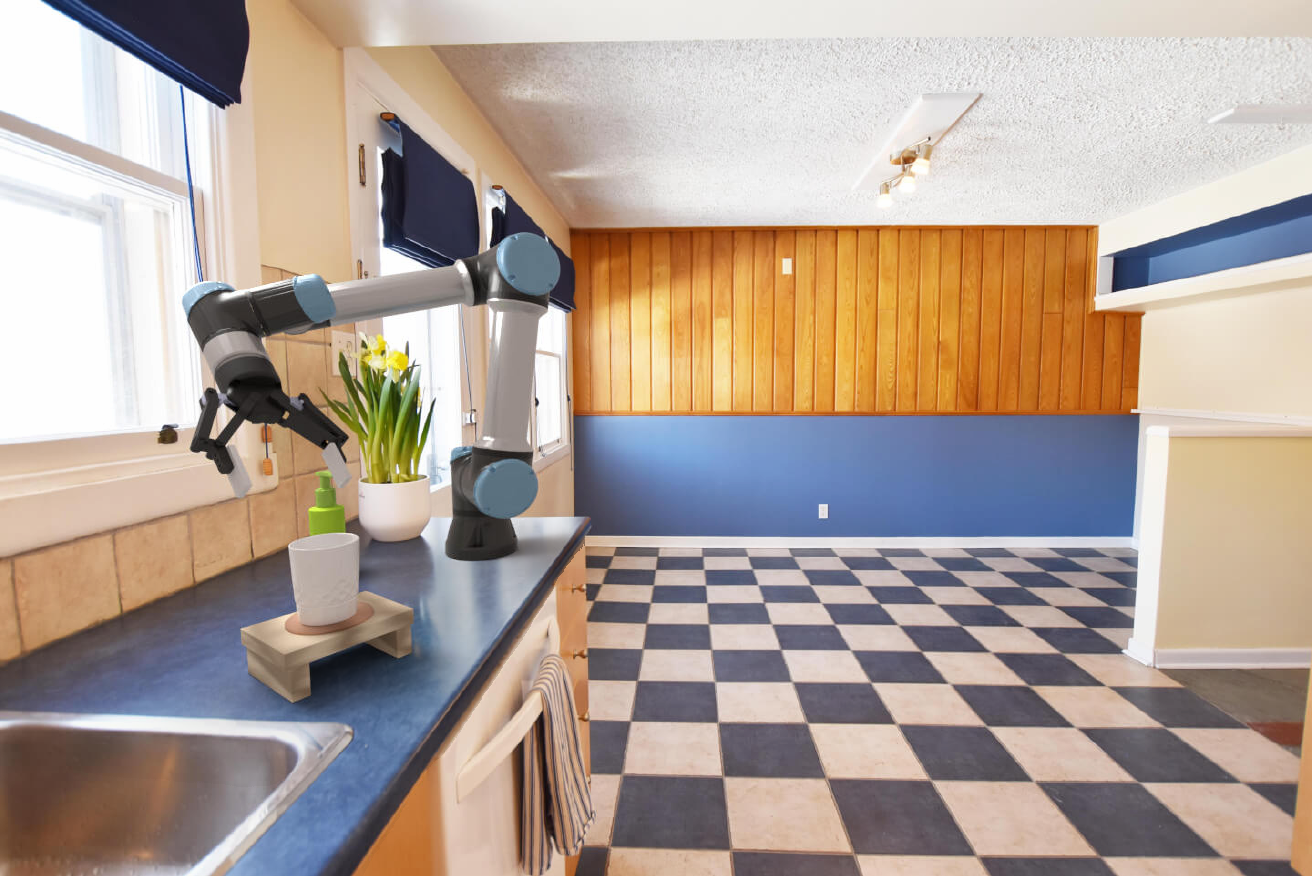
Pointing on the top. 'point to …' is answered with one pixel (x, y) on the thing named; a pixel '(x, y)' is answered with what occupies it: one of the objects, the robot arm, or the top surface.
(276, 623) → the birch shelf
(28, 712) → the top surface
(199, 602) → the top surface
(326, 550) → the white cup
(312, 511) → the soap dispenser
